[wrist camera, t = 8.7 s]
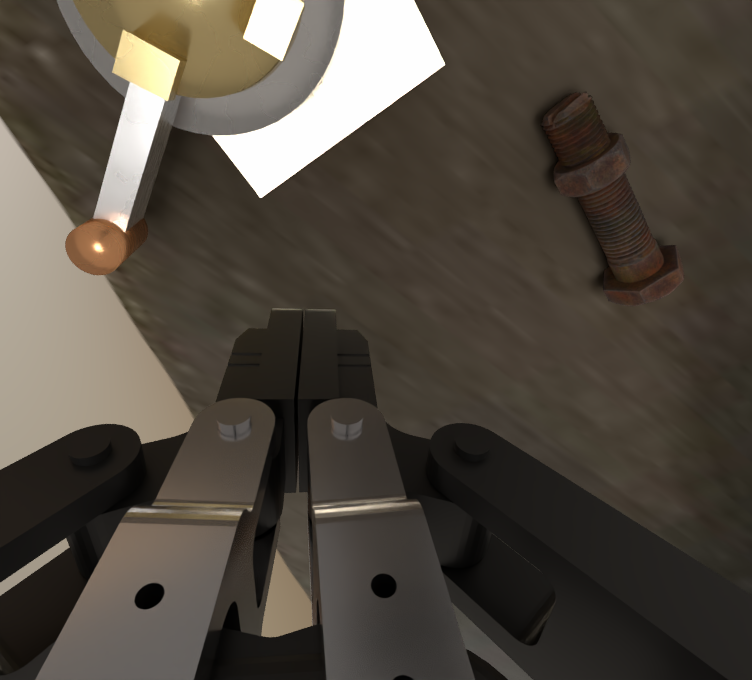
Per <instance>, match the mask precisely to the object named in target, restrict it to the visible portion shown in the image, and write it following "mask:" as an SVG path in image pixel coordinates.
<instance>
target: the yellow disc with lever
mask: <svg viewBox="0 0 752 680" xmlns="http://www.w3.org/2000/svg"><path fill="white" fill-rule="evenodd" d="M73 2H74V4H75V6H76V8H77V10H78V12H79V13H80V15H81V17H82V19H83V20H84V22H85V24H86V25H87V27H88V28H89V29H90V31H91V32H92V34H93V35H94V36H95V38H96V39H97V40H98V42H99V43H100V44H101V45H102V46H103V47H104V48H105V50H106V51H107V52H108V53H109V54H110V55H111V56H112V57H113V58H114V59H115V63H114V67H113V71H112V73H114V74H116V75H118V76H120V77H122V78H124V79H126V80H127V81H129V82H130V84H129V87H128V91H127V95H126V98H125V102H124V106H123V110H122V113H121V117H120V121H119V125H118V128H117V132H116V136H115V139H114V143H113V147H112V151H111V154H110V158H109V162H108V165H107V169H106V173H105V177H104V180H103V184H102V188H101V192H100V195H99V199H98V203H97V206H96V210H95V214H94V217H93V218H92V219H90V220H88V221H87V222H85V223H84V224H82V225H80V226H79V227H77V228H76V229H74V230H72V231H71V232H70V233H69V235H68V236H67V239H66V243H65V244H66V245H65V247H66V252H67V254H68V256H69V258H70V260H71V261H72V262H73V263H74V264H75V265H76V266H77V267H78V268H79V269H81V270H83V271H84V272H87V273H90V274H93V275H106V274H109V273H111V272H113V271H114V270H115V269H116V268H117V267H118V266H119V265H121V264H122V263H123V262H124V261H125V260H126V259H127V258H128V257H129V256H130V255H131V254H132V253H133V252H134V251H135V250H137V249H138V248H139V247H140V246H141V245H142V244H143V243H144V242H145V240H146V238H147V235H148V227H147V224H146V221H145V219H144V214H145V211H146V208H147V205H148V202H149V199H150V195H151V192H152V189H153V186H154V183H155V179H156V176H157V173H158V170H159V167H160V164H161V160H162V157H163V154H164V151H165V148H166V145H167V141H168V138H169V135H170V132H171V129H172V125H173V122H174V119H175V116H176V113H177V110H178V106H179V103H180V100H181V97H182V96H185V97H191V98H215V97H222V96H227V95H231V94H235V93H239V92H242V91H245V90H247V89H250V88H252V87H254V86H256V85H257V84H259V83H261V82H262V81H264V80H265V79H266V78H267V77H269V76H270V75H271V74H272V73H273V72H274V71H275V70H276V69H277V68H278V67H279V66H280V64H281V63H282V62H283V61H285V58H286V56H287V54H288V53H289V51H290V49H291V47H292V45H293V43H294V41H295V39H296V36H297V33H298V30H299V27H300V23H301V18H302V14H303V12H304V9H305V4H304V0H73Z"/></svg>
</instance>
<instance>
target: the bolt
mask: <svg viewBox="0 0 752 680" xmlns="http://www.w3.org/2000/svg"><path fill="white" fill-rule="evenodd" d="M591 99H592V96H591V95H588V93H587V92H583V93H582V94H580V93H576V92H575V93H573V94H571V95H569V96H568V97H566V98H565V99H564V100H562V101H561V102H560V103H558V104H557V105H555V106H554V107H553V108H551V109H550V110H549V111H548V112H547V113H546V115H545V116H544V118H543V121H542V123H541V126H544V128H543V130H546V132H545V134H547V135H548V139H550V143H552V147H553V148H555V149H554V152H556V156H557V157H559V158H558V160H559V161H558V162H557V164H556V166H555V168H554V182H555V184H556V186H557V188H558V190H559V192H560V194H561V195H564V196H569V197H577V198H578V201H579V202H580V205H581V206H582V208H583V210H584V212H585V214H586V215H587V218H588V221H589V222H590V225H591V227H592V229H593V231H594V232H595V235H596V237H597V239H598V240H599V243H600V245H601V247H602V248H603V251H604V253H605V255H606V257H607V262H608V264H609V267H608V268H606V269H605V270H604V284H603V291H604V293H605V295H606V297H607V299H608V300H609V301H611V302H613V303H616V304H620V305H625V306H636V305H641V304H645V303H649V302H652V301H656V300H658V299H661V298H663V297H665V296H666V295H668V294H669V293H671V292H672V291H673V290H674V289H676V288H677V287H678V286H679V284H680V283H681V282H682V281H683V280H684V271H683V265H682V261H681V257H680V254H679V252H678V249H677V247H676V245H670V246H658V244H657V242H656V240H655V239H654V238H653V237H652V234H651V233H650V230H649V227H648V226H647V223H646V221H645V218H644V215H643V214H642V210H641V209H640V206H639V204H638V202H637V200H636V198H635V195H634V193H633V191H632V188H631V186H630V183H629V182H628V179H627V178H626V174H625V172H626V170H627V169H628V167H629V166H630V162H631V160H630V153H629V149H628V146H627V144H626V142H625V139H624V137H623V135H622V134H618V133H606V132H607V131H606V129H604V127H605V126H604V124H602V120H601V119H600V115H598V110H596V106H595V105H594V101H593V100H591Z"/></svg>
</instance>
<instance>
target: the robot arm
mask: <svg viewBox="0 0 752 680" xmlns="http://www.w3.org/2000/svg"><path fill="white" fill-rule="evenodd" d="M298 456H299V492H308V542H309V562H310V582H311V602H312V623H313V626H311V627H307V628H304V629H301V630H298V631H295V632H292V633H288V634H285V635H283V636H279V637H271V638H269V637H263V636H261V632H262V623H263V616H264V611H265V606H266V601H267V595H268V589H269V585H270V579H271V574H272V568H273V563H274V558H275V553H276V548H277V542H278V537H279V532H280V516H281V514H282V509H283V501H284V493H296V485H297V471H298ZM492 533H493V534H494V535H493V534H492ZM496 536H497V537H498V538H499V539H498V538H497V537H496ZM65 538H66V539H67V541H68V544H69V546H70V548H68V549H67V550H65V551H64V552H63V553H61V554H60V555H58V556H57V557H55V558H54V559H53V560H51V561H50V562H49V563H47V564H45V565H44V566H43V567H41V568H40V569H38V570H37V571H35V572H34V573H33V574H31V575H30V576H28V577H27V578H25V579H24V580H23V581H21V582H20V583H18V584H17V585H15V586H14V587H12V588H11V589H10V590H8V591H7V592H5V593H4V594H2V595H1V596H0V680H508V679H507V678H506V677H504V676H503V675H502V674H501V673H500V672H498V671H497V670H496V669H495V668H494V667H492V666H491V665H490V664H489V663H488V662H486V661H485V660H483V659H481V658H480V657H478V656H477V655H475V654H474V653H472V652H471V651H469V650H467V649H466V648H465V645H464V641H463V638H462V635H461V632H460V628H459V625H458V622H457V619H456V615H455V612H454V609H453V606H452V603H453V604H454V605H455V606H456V607H457V608H458V609H459V610H461V611H462V612H463V613H464V614H465V615H466V616H467V617H468V618H469V619H470V620H471V621H472V622H473V623H474V624H475V625H476V626H477V627H478V628H479V629H481V630H482V631H483V632H484V633H485V634H486V635H487V636H488V637H489V638H490V639H491V640H492V641H493V642H494V643H495V644H496V645H497V646H498V647H499V648H501V649H502V650H503V651H504V652H505V653H506V654H507V655H508V656H509V657H510V658H511V659H512V660H513V661H514V662H515V663H516V664H517V665H518V666H519V667H521V668H522V669H523V670H524V671H525V672H526V673H527V674H528V675H529V676H530V677H531V678H532V679H533V680H752V595H751V594H749V593H748V592H746V591H745V590H743V589H741V588H740V587H738V586H737V585H735V584H733V583H732V582H730V581H729V580H727V579H725V578H724V577H722V576H721V575H719V574H718V573H716V572H714V571H713V570H711V569H710V568H708V567H706V566H705V565H703V564H702V563H700V562H698V561H697V560H695V559H694V558H692V557H691V556H689V555H687V554H686V553H684V552H683V551H681V550H679V549H678V548H676V547H675V546H673V545H671V544H670V543H668V542H667V541H665V540H664V539H662V538H660V537H659V536H657V535H656V534H654V533H652V532H651V531H649V530H648V529H646V528H644V527H643V526H641V525H640V524H638V523H637V522H635V521H633V520H632V519H630V518H629V517H627V516H625V515H624V514H622V513H621V512H619V511H618V510H616V509H614V508H613V507H611V506H610V505H608V504H606V503H605V502H603V501H602V500H600V499H598V498H597V497H595V496H594V495H592V494H591V493H589V492H587V491H586V490H584V489H583V488H581V487H579V486H578V485H576V484H575V483H573V482H571V481H570V480H568V479H567V478H565V477H564V476H562V475H560V474H559V473H557V472H556V471H554V470H552V469H551V468H549V467H548V466H546V465H544V464H543V463H541V462H540V461H538V460H537V459H535V458H533V457H532V456H530V455H529V454H527V453H525V452H524V451H522V450H521V449H519V448H518V447H516V446H514V445H513V444H511V443H510V442H508V441H506V440H505V439H503V438H502V437H500V436H498V435H497V434H495V433H494V432H492V431H490V430H488V429H486V428H483V427H481V426H477V425H473V424H466V423H455V424H450V425H446V426H444V427H442V428H440V429H438V430H437V431H436V432H435V433H434V434H433V436H432V438H431V440H430V439H425V438H421V437H416V436H412V435H409V434H405V433H403V432H400V431H398V430H396V429H395V428H393V427H391V426H390V425H389V424H387V423H386V422H385V419H384V416H383V414H382V413H381V412H380V411H379V410H378V408H377V402H376V395H375V388H374V382H373V375H372V368H371V361H370V357H369V348H368V341H367V340H366V339H365V338H364V337H363V336H362V335H361V334H360V333H359V331H358V330H336V310H328V309H305V319H304V331H303V309H277V308H272V310H271V314H270V319H269V323H268V328H267V329H257V328H249V329H247V330H246V331H245V332H244V333H243V334H242V335H241V336H239V337H238V338H237V339H236V341H235V344H234V347H233V350H232V355H231V356H230V359H229V362H228V367H227V369H226V372H225V375H224V378H223V381H222V384H221V387H220V390H219V393H218V396H217V400H216V403H214V404H211V405H210V406H208V407H206V408H205V409H203V410H202V411H201V412H200V413H199V414H198V415H197V416H196V418H195V419H194V421H193V423H192V425H191V427H190V429H189V431H188V432H186V433H184V434H181V435H178V436H175V437H171V438H167V439H163V440H158V441H154V442H149V443H145V444H141V441H140V438H139V436H138V434H137V433H136V432H135V431H134V430H133V429H131V428H129V427H126V426H123V425H117V424H101V425H95V426H90V427H86V428H83V429H80V430H77V431H74V432H72V433H70V434H68V435H66V436H64V437H62V438H60V439H58V440H57V441H55V442H53V443H51V444H49V445H47V446H45V447H43V448H41V449H39V450H38V451H36V452H34V453H32V454H30V455H28V456H26V457H24V458H22V459H20V460H19V461H16V462H15V463H13V464H11V465H9V466H7V467H5V468H3V469H1V470H0V582H2V581H3V580H5V579H6V578H8V577H9V576H11V575H12V574H13V573H15V572H16V571H18V570H19V569H21V568H22V567H24V566H25V565H27V564H28V563H29V562H31V561H33V560H34V559H35V558H37V557H38V556H40V555H41V554H43V553H44V552H46V551H47V550H48V549H50V548H52V547H53V546H55V545H56V544H58V543H59V542H60V541H62V540H63V539H65ZM500 539H501V540H502V541H503V542H502V541H501V540H500ZM505 543H506V544H507V545H508V546H507V545H506V544H505ZM510 547H511V548H512V549H513V550H512V549H511V548H510ZM514 550H515V551H516V552H517V553H516V552H515V551H514ZM519 554H520V555H521V556H522V557H521V556H520V555H519ZM524 558H525V559H526V560H527V561H526V560H525V559H524ZM528 561H529V562H530V563H531V564H530V563H529V562H528ZM533 565H534V566H535V567H536V568H535V567H534V566H533ZM538 569H539V570H540V571H541V572H540V571H539V570H538Z"/></svg>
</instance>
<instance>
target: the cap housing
mask: <svg viewBox="0 0 752 680" xmlns="http://www.w3.org/2000/svg"><path fill="white" fill-rule="evenodd" d="M57 3H58V5H59V8H60V10H61V13H62V15H63V17H64V19H65V21H66V23H67V25H68V27H69V29H70V31H71V33H72V34H73V36H74V38H75V39H76V41H77V43H78V44H79V46H80V48H81V49H82V51H83V52H84V54H85V55H86V56H87V58H88V59H89V60H90V62H91V63H92V64H93V65H94V67H95V68H96V69H97V71H98V72H99V73H100V74H101V75H102V76H103V77H104V78H105V79H106V80H107V81H108V83H109V84H110V85H111V86H112V87H113V88H115V89H116V90H117V91H118V92H119V93H120V94H121V95H122V96H124V97H125V98H126V95H127V91H128V87H129V84H130V82H129V81H127V80H126V79H124V78H122V77H120V76H118V75H116V74H114V73H112V71H113V67H114V63H115V59H114V58H113V57H112V56H111V55H110V54H109V53H108V52H107V51H106V50H105V48H104V47H103V46H102V45H101V44H100V43H99V42H98V40H97V39H96V38H95V36H94V35H93V34H92V32H91V31H90V29H89V28H88V27H87V25H86V24H85V22H84V20H83V19H82V17H81V15H80V13H79V12H78V10H77V8H76V6H75V4H74V2H73V0H57ZM304 4H305V9H304V12H303V14H302V18H301V23H300V27H299V30H298V33H297V36H296V39H295V41H294V43H293V45H292V47H291V49H290V51H289V53H288V54H287V56H286V58H285V61H283V62H282V63H281V64H280V66H279V67H278V68H277V69H276V70H275V71H274V72H273V73H272V74H271V75H270V76H269V77H267V78H266V79H265V80H264V81H262V82H261V83H259V84H257V85H256V86H254V87H252V88H250V89H247V90H245V91H242V92H239V93H235V94H231V95H227V96H222V97H215V98H191V97H185V96H182V97H181V100H180V103H179V106H178V110H177V113H176V116H175V119H174V122H173V125H172V126H174V127H176V128H179V129H183V130H186V131H190V132H194V133H199V134H206V135H212V136H213V137H214V138H215V140H216V141H217V142H218V143H219V145H220V146H221V147H222V149H223V150H224V151H225V152H226V154H227V155H228V156H229V158H230V159H231V160H232V162H233V163H234V164H235V165H236V167H237V168H238V169H239V171H240V172H241V173H242V175H243V176H244V177H245V178H246V180H247V181H248V182H249V184H250V185H251V186H252V187H253V189H254V190H255V191H256V193H257V194H258V195H259V197H260V198H262V197H263V196H265V195H266V194H267V193H269V192H270V191H271V190H273V189H274V188H276V187H277V186H278V185H280V184H281V183H282V182H284V181H285V180H287V179H288V178H289V177H291V176H292V175H294V174H295V173H296V172H298V171H299V170H300V169H302V168H303V167H305V166H306V165H307V164H309V163H310V162H311V161H313V160H314V159H316V158H317V157H318V156H320V155H321V154H323V153H324V152H325V151H327V150H328V149H329V148H331V147H332V146H334V145H335V144H336V143H338V142H339V141H341V140H342V139H343V138H345V137H346V136H347V135H349V134H350V133H352V132H353V131H354V130H356V129H357V128H358V127H360V126H361V125H363V124H364V123H365V122H367V121H368V120H370V119H371V118H372V117H374V116H375V115H376V114H378V113H379V112H381V111H382V110H383V109H385V108H386V107H388V106H389V105H390V104H392V103H393V102H394V101H396V100H397V99H399V98H400V97H401V96H403V95H404V94H405V93H407V92H408V91H410V90H411V89H412V88H414V87H415V86H417V85H418V84H419V83H421V82H422V81H423V80H425V79H426V78H428V77H429V76H430V75H432V74H433V73H435V72H436V71H437V70H439V69H440V68H441V67H443V66H444V65H445V63H444V61H443V59H442V57H441V55H440V53H439V51H438V49H437V47H436V44H435V42H434V40H433V38H432V36H431V34H430V32H429V30H428V28H427V26H426V24H425V22H424V20H423V18H422V16H421V14H420V12H419V10H418V8H417V6H416V4H415V2H414V0H304Z"/></svg>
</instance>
